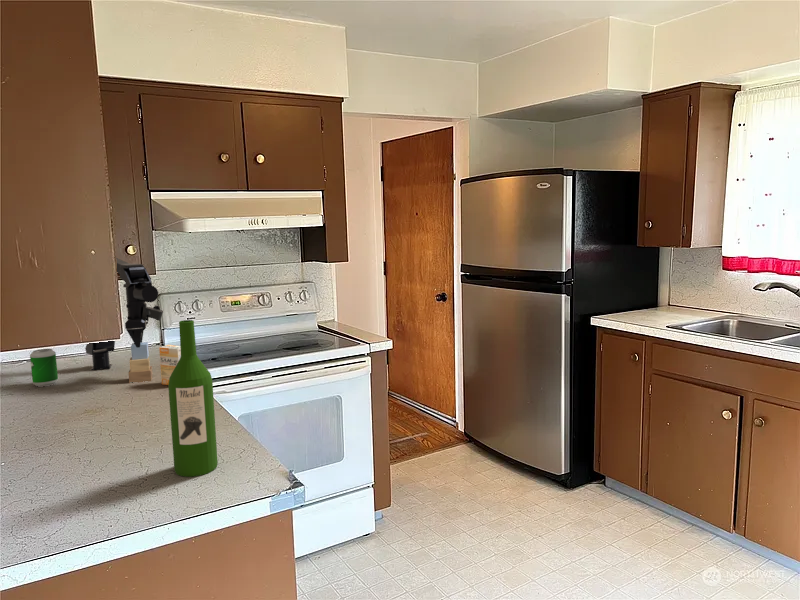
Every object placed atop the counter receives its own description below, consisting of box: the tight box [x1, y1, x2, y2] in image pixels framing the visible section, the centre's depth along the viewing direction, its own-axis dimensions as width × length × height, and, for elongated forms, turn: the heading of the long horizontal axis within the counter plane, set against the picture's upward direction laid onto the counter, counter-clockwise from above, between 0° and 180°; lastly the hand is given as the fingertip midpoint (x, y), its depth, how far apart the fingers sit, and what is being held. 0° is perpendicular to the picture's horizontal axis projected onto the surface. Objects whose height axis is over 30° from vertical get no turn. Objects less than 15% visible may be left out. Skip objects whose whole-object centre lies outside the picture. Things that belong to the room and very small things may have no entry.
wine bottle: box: [167, 319, 218, 478], centre depth 125 cm, size 9×9×32 cm
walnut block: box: [128, 365, 154, 384], centre depth 205 cm, size 7×7×4 cm
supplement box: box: [158, 344, 181, 386], centre depth 198 cm, size 8×5×13 cm, turn 68°
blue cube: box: [130, 341, 150, 360], centre depth 205 cm, size 5×5×5 cm
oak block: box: [129, 356, 151, 372], centre depth 205 cm, size 6×6×4 cm
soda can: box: [29, 348, 59, 388], centre depth 201 cm, size 8×8×12 cm
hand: (139, 344), depth 204 cm, fingers open, 9 cm apart
